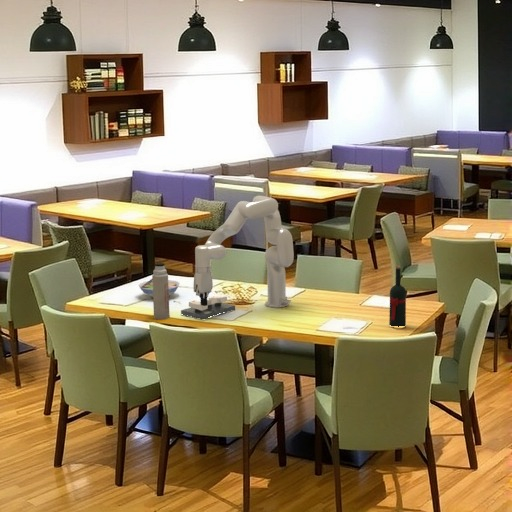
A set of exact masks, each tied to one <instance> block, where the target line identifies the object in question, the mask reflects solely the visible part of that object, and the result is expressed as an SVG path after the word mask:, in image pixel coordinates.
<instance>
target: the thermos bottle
mask: <svg viewBox="0 0 512 512" xmlns="http://www.w3.org/2000/svg"><path fill="white" fill-rule="evenodd" d="M152 273H153V274H151V275H152V277H151V279H152V282H153V297H152V301H153V306H152V307H153V319H156V320H166V319H169V318H170V314H171V313H170V295H169V287H168V280H169V273H167V269H166V268H165V263H164V262H163V263H162V262H158V263H157V262H156V263H154V269H153V271H152Z"/></svg>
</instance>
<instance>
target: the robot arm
mask: <svg viewBox="0 0 512 512" xmlns="http://www.w3.org/2000/svg"><path fill="white" fill-rule="evenodd" d="M260 218H263V219H264V227H265V237H266V241H267V242H268V243H269V244H271V245H273V246H270V247H269V248H267V249H266V250H265V263H266V271H267V274H266V275H267V280H266V281H267V301H265V303H264V306H266V307H268V308H274V307H275V309H276V308H285V306H286V307H288V306H289V305H290V304H291V301H292V300H290V299H288V296H286V295H287V294H286V293H287V292H286V291H287V290H286V269H285V268H289V267H290V266H291V265H292V264H293V263H294V258H295V256H294V255H295V254H294V243H293V242H294V241H293V235H292V233H291V232H290V230H288V229H286V228H283V226H282V219H281V215H280V210H279V203H278V201H277V199H275V198H273V197H270V196H264V195H255V196H254V197H253V198H252V201H251V202H250V201H246V200H241V201H239V202H237V204H236V205H235V206H234V208H233V209H232V211H231V213H229V216H228V217H227V219H226V220H225V221H224V223H223V224H221V225H220V226H219V227H218V228H217V229H216V230H214V231H213V232H212V234H210V236H209V237H208V239H207V240H206V242H205V244H203V245H201V244H200V245H197V246H196V247H195V249H194V254H195V255H194V256H195V257H194V258H195V259H194V260H195V272H194V274H193V275H194V276H193V293H195V296H196V297H199V299H200V302H201V305H203V306H207V300H208V298H209V294H211V293H212V290H213V285H214V283H213V275H212V271H211V270H212V267H211V260H222V259H225V257H226V255H227V248H226V247H225V246H224V245H222V243H223V242H224V241H225V240H226V239H228V238H229V237H232V236H234V235H237V234H238V233H239V232H240V230H241V229H242V227H243V226H244V224H245V223H246V222H247V219H248V220H256V219H260Z"/></svg>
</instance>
